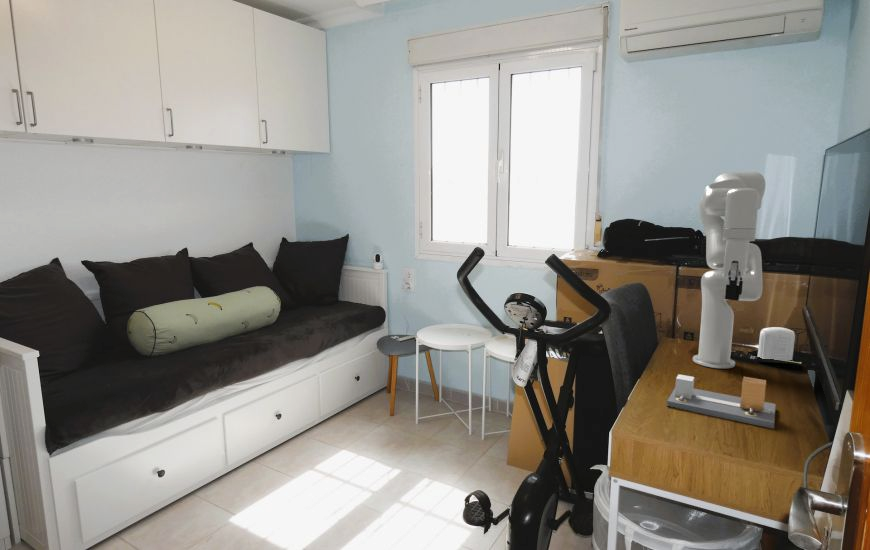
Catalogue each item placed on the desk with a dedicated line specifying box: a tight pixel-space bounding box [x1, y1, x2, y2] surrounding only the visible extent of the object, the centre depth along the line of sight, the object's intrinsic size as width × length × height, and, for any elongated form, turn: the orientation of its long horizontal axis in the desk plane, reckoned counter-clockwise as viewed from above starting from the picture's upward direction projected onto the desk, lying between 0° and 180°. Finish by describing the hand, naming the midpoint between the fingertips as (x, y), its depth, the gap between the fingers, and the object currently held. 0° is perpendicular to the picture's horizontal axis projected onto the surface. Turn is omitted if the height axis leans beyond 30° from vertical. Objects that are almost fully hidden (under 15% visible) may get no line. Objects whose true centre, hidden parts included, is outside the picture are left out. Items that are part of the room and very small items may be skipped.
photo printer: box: [757, 326, 796, 361], centre depth 172 cm, size 10×4×12 cm, turn 81°
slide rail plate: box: [666, 374, 776, 430], centre depth 136 cm, size 14×24×6 cm, turn 56°
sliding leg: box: [740, 376, 767, 413], centre depth 130 cm, size 7×5×7 cm
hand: (733, 296), depth 141 cm, fingers open, 9 cm apart
